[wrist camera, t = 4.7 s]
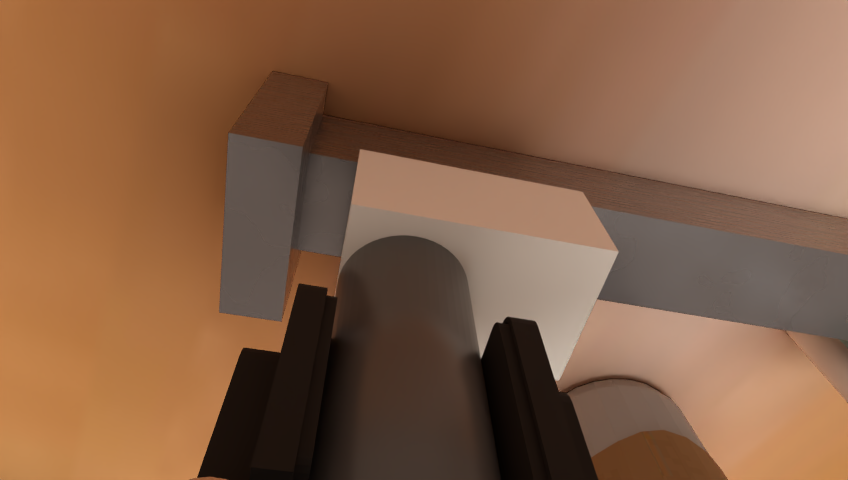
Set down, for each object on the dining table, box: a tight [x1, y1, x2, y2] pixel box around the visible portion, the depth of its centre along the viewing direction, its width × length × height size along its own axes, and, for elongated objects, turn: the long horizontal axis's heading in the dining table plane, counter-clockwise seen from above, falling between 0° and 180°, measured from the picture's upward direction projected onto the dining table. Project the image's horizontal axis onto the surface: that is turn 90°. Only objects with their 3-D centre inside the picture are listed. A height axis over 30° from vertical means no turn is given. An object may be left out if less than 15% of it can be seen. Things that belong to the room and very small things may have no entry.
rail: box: [219, 71, 848, 341], centre depth 18 cm, size 5×28×5 cm, turn 78°
